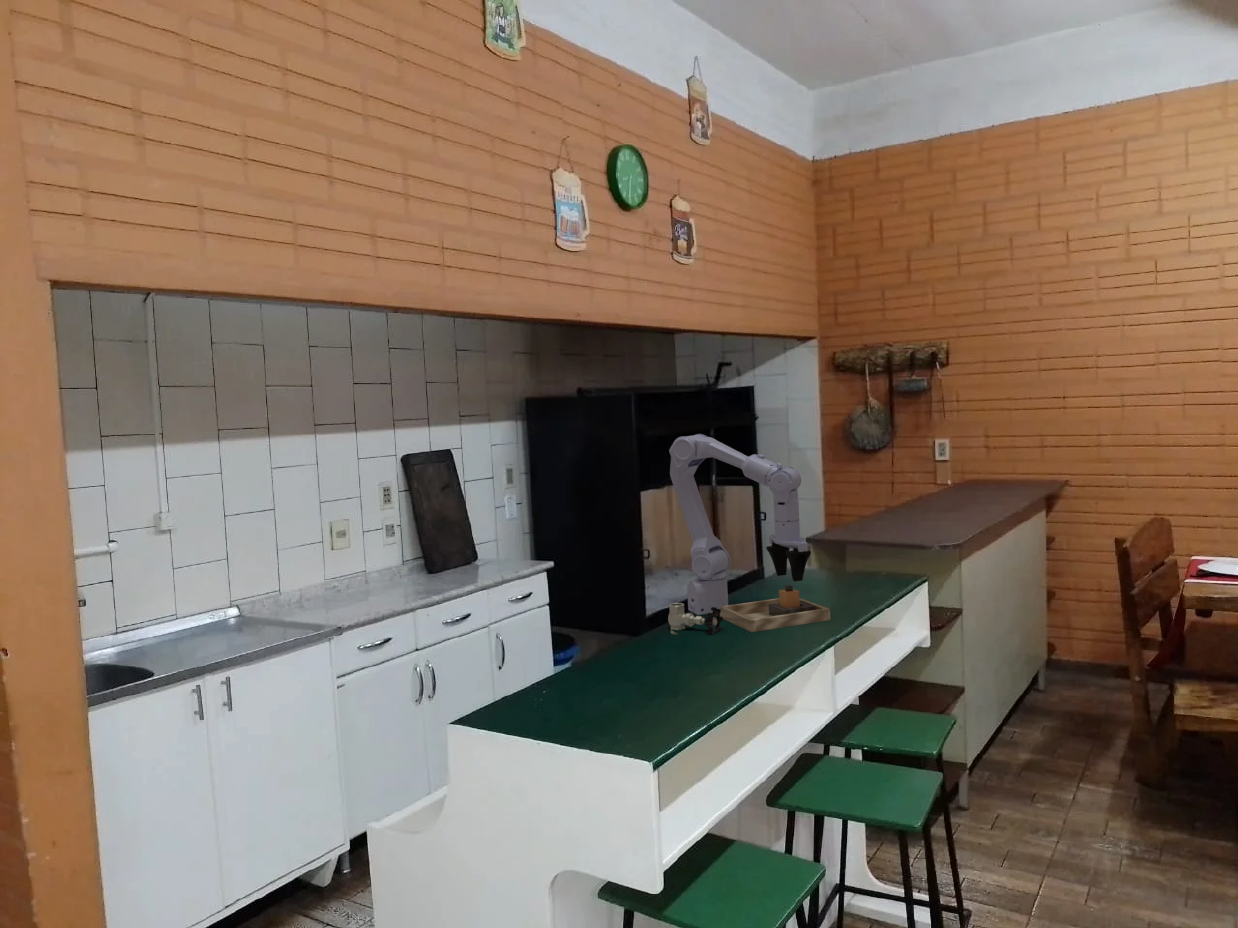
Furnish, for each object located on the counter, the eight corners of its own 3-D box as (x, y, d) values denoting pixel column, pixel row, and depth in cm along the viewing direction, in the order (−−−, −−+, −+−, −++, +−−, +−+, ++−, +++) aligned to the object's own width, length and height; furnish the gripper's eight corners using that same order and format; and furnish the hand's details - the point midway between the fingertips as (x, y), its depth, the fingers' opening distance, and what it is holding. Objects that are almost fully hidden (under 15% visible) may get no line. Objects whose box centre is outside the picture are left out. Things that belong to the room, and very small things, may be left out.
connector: (787, 618, 214) (785, 587, 214) (780, 615, 218) (778, 585, 217) (800, 616, 216) (798, 585, 215) (792, 613, 219) (791, 583, 218)
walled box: (751, 636, 205) (750, 620, 204) (720, 621, 220) (719, 606, 219) (830, 623, 211) (829, 608, 211) (795, 609, 226) (794, 595, 226)
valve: (663, 635, 210) (710, 640, 204) (661, 606, 210) (709, 610, 203) (677, 628, 216) (723, 632, 210) (675, 600, 215) (722, 604, 209)
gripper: (818, 521, 210) (821, 581, 211) (786, 515, 223) (789, 570, 224) (790, 525, 207) (793, 584, 208) (760, 518, 221) (763, 574, 222)
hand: (789, 577), depth 216 cm, fingers open, 7 cm apart
